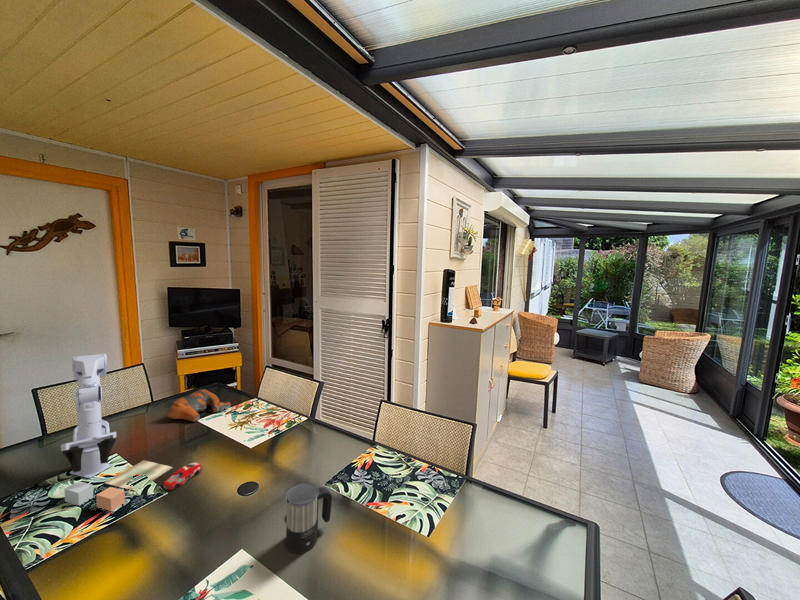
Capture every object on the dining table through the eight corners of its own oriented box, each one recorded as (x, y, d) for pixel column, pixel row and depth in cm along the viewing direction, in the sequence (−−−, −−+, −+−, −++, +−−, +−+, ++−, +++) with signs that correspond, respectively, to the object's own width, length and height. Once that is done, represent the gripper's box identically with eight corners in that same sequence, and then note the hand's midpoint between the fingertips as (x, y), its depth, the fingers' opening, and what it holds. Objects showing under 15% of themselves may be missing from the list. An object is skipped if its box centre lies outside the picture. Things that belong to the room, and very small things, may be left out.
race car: (170, 493, 112) (170, 482, 111) (159, 489, 114) (159, 478, 113) (205, 471, 124) (204, 461, 124) (194, 467, 126) (194, 458, 125)
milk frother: (299, 560, 89) (300, 510, 88) (263, 532, 98) (264, 486, 96) (335, 526, 101) (337, 482, 100) (300, 504, 110) (301, 463, 108)
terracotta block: (96, 508, 103) (96, 494, 103) (110, 499, 107) (110, 486, 107) (111, 512, 102) (111, 499, 102) (124, 503, 106) (124, 490, 106)
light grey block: (65, 502, 105) (64, 488, 105) (79, 493, 109) (79, 481, 109) (78, 506, 104) (78, 492, 103) (93, 497, 108) (92, 484, 107)
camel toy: (161, 419, 158) (188, 431, 153) (170, 392, 159) (197, 403, 154) (203, 411, 182) (228, 421, 177) (211, 387, 183) (236, 397, 178)
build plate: (104, 483, 114) (104, 482, 114) (143, 460, 128) (143, 460, 128) (135, 491, 111) (135, 491, 111) (172, 467, 125) (172, 467, 125)
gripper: (72, 427, 101) (73, 474, 98) (122, 417, 115) (124, 457, 112) (55, 431, 102) (56, 477, 100) (106, 420, 116) (108, 460, 114)
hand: (91, 467), depth 106 cm, fingers open, 7 cm apart
